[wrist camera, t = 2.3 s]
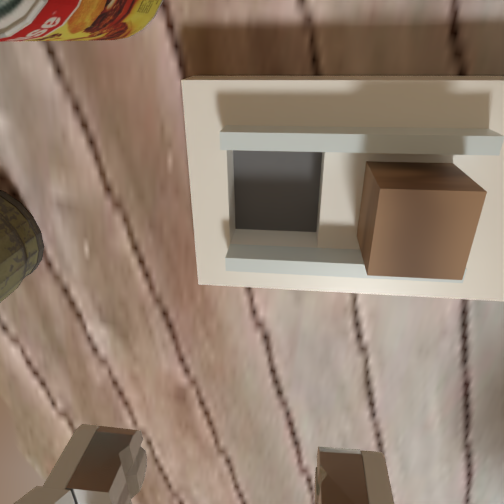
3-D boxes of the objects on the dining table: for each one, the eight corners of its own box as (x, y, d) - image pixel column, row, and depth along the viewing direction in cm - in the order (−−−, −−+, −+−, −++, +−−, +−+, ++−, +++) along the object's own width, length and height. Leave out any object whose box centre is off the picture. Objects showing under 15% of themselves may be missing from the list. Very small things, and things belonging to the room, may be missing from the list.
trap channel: (616, 75, 23) (689, 84, 19) (537, 280, 30) (577, 322, 25) (193, 75, 26) (171, 83, 21) (206, 264, 32) (191, 299, 28)
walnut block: (453, 163, 24) (487, 191, 19) (435, 239, 26) (462, 280, 22) (366, 161, 24) (380, 188, 20) (356, 235, 26) (367, 275, 22)
